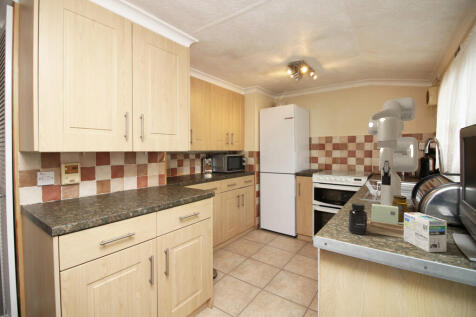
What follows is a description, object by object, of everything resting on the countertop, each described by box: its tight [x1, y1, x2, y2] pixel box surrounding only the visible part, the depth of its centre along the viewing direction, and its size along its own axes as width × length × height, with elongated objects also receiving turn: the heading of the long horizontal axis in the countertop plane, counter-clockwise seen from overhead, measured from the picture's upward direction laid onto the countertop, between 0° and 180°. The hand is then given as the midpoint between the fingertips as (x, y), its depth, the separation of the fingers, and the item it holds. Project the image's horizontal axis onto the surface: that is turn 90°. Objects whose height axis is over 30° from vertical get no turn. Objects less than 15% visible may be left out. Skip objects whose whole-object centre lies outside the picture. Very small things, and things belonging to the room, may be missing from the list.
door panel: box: [370, 203, 399, 225], centre depth 101 cm, size 3×10×9 cm, turn 58°
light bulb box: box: [403, 212, 448, 253], centre depth 79 cm, size 11×7×11 cm, turn 5°
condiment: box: [392, 195, 409, 225], centre depth 107 cm, size 7×8×12 cm
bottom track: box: [367, 219, 404, 239], centre depth 92 cm, size 7×14×3 cm, turn 58°
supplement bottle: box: [347, 202, 368, 236], centre depth 92 cm, size 7×7×12 cm
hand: (386, 183), depth 99 cm, fingers open, 9 cm apart
